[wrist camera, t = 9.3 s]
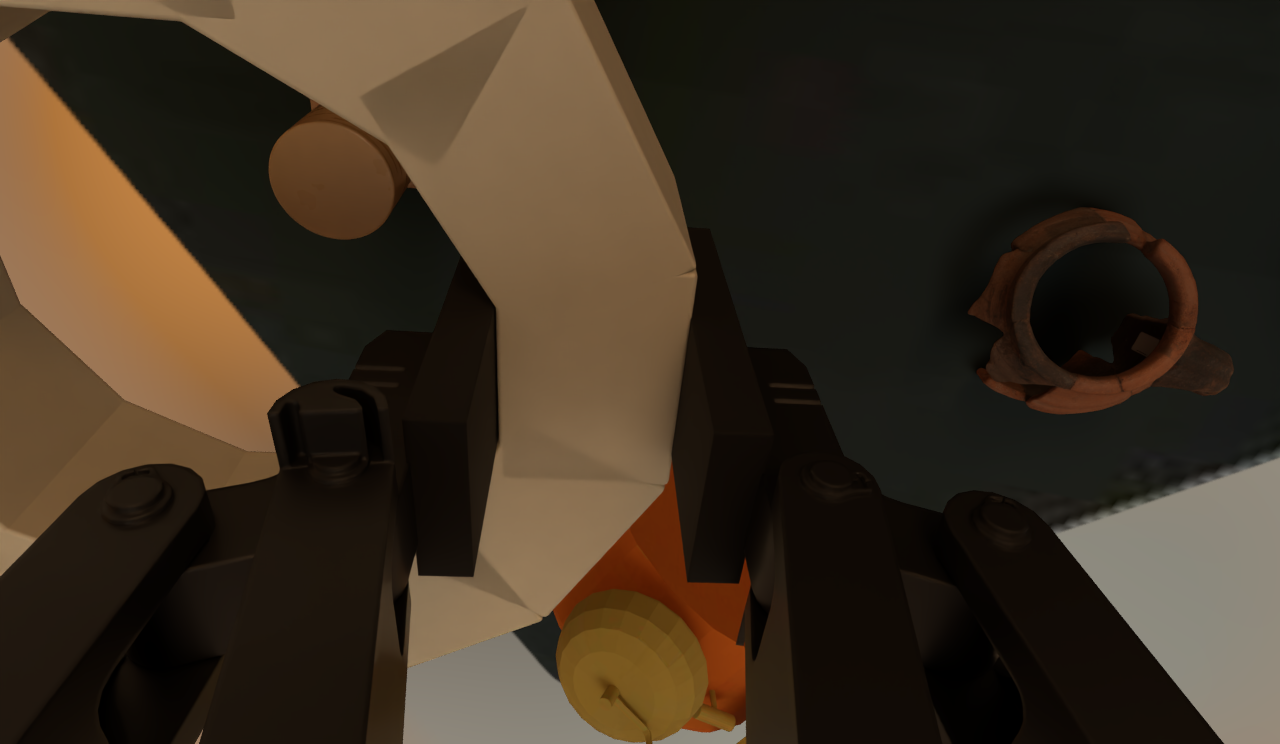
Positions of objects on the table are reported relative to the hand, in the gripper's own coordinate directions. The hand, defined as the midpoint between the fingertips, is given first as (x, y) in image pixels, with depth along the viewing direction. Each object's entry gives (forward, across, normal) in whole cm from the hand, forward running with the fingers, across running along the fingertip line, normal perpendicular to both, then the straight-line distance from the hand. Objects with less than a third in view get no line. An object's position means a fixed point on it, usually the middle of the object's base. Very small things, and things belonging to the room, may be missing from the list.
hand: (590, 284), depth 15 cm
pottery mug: (+18, +23, -8) cm, 31 cm away
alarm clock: (+18, +6, -19) cm, 27 cm away
